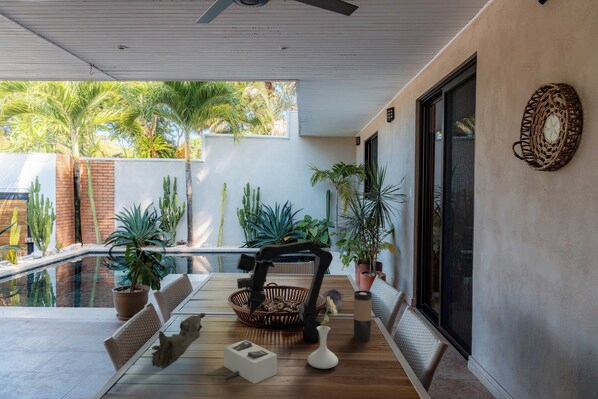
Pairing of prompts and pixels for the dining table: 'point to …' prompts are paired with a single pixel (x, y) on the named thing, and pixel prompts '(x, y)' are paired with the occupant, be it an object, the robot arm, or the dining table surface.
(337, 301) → the geode
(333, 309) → the flower in vase
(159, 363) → the driftwood
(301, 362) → the dining table surface
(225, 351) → the box
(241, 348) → the rocker
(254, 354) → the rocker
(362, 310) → the travel mug
